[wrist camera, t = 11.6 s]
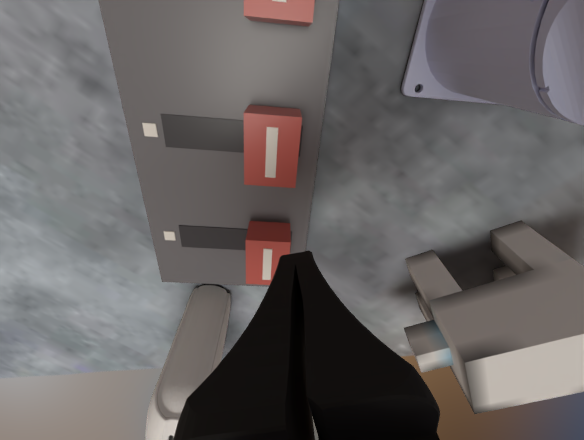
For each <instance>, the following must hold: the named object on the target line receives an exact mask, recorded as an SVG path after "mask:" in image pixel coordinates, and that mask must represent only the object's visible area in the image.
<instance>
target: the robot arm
mask: <svg viewBox="0 0 584 440" xmlns="http://www.w3.org/2000/svg"><path fill="white" fill-rule="evenodd" d="M418 84H420V90H419V91H418V92H415V87H416V85H418ZM401 91H402V93H403V94H404V95H406V96H410V97H422V98H433V99H444V100H455V101H467V102H478V103H489V104H500V105H506V106H510V107H514V108H518V109H522V110H526V111H530V112H534V113H538V114H542V115H545V116H549V117H553V118H557V119H561V120H565V121H569V122H572V123H576V124H580V125H583V126H584V0H424V3H423V7H422V11H421V15H420V18H419V22H418V26H417V30H416V34H415V37H414V41H413V45H412V49H411V53H410V56H409V60H408V64H407V68H406V72H405V75H404V79H403V83H402V87H401ZM312 416H313V419H314V423H315V426H316V430H317V433H318V438H319V440H440V439H439V437H438V435H437V427H438V422H439V416H440V411H439V407H438V405H437V403H436V400H435V399H434V397H433V395H432V393H431V392H430V390H429V388H428V387H427V385H426V384H425V382H424V381H423V379H422V378H421V376H420V375H419V374H418V372H417V371H416V369H415V368H414V367H413V366H412V365H411V364H409V363H408V362H407V361H405V360H404V359H403V358H401V357H400V356H399V355H397V354H396V353H395V352H394V351H392V350H391V349H390V348H388V347H387V346H386V345H385V344H384V343H382V342H381V341H380V340H379V339H378V338H377V337H375V336H374V335H373V334H372V333H371V332H370V331H369V330H368V329H367V328H366V327H365V326H364V325H363V324H361V323H360V322H359V321H358V320H357V319H356V318H355V316H354V315H353V314H352V313H351V312H350V311H349V310H348V309H347V308H346V307H345V306H344V304H343V303H342V302H341V301H340V299H339V298H338V297H337V296H336V294H335V293H334V292H333V290H332V289H331V288H330V286H329V285H328V283H327V282H326V280H325V279H324V277H323V276H322V274H321V272H320V271H319V269H318V267H317V265H316V263H315V261H314V258H313V255H312V252H310V251H305V252H299V253H293V254H287V255H282V256H281V257H280V258H279V262H278V265H277V268H276V271H275V274H274V276H273V279H272V281H271V284H270V286H269V288H268V290H267V293H266V295H265V297H264V299H263V301H262V302H261V304H260V306H259V308H258V310H257V312H256V314H255V315H254V317H253V319H252V320H251V322H250V323H249V325H248V327H247V328H246V330H245V331H244V332H243V334H242V335H241V337H240V338H239V340H238V341H237V342H236V344H235V345H234V346H233V348H232V349H231V350H230V352H229V353H228V354H227V355H226V356H225V358H224V359H223V360H222V361H221V362H220V364H219V365H218V366H217V367H216V368H215V370H214V371H213V372H212V373H211V374H210V375H209V376H208V377H207V378H206V379H205V380H204V381H203V382H202V383H201V384H200V386H199V387H198V388H197V389H196V390H195V391H194V392H193V393H192V394H191V395H190V396H189V397H188V398H187V399H186V402H185V405H184V407H183V410H182V412H181V415H180V418H179V421H178V424H177V427H176V431H175V435H174V438H173V440H315V437H314V428H313V420H312Z"/></svg>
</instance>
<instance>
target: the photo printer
mask: <svg viewBox="0 0 584 440" xmlns="http://www.w3.org/2000/svg"><path fill="white" fill-rule="evenodd" d="M230 306H231V297H230V293H227V291H226V290H225V289H223V288H221V287H219V286H215V285H202V286H200V287H199V288H195V289H194V290H193V292H192V294H191V296H190V298H189V301H188V303H187V306H186V309H185V311H184V314H183V317H182V319H181V322H180V325H179V327H178V330H177V332H176V335H175V338H174V340H173V343H172V346H171V348H170V351H169V354H168V356H167V359H166V362H165V364H164V367H163V369H162V372H161V374H160V377H159V379H158V382H157V385H156V387H155V390H154V392H153V395H152V398H151V401H150V405H149V409H148V415H147V422H146V436H145V438H146V440H173V438H174V435H175V431H176V427H177V424H178V421H179V418H180V415H181V412H182V410H183V407H184V405H185V402H186V399H187V398H188V397H189V396H190V395H191V394H192V393H193V392H194V391H195V390H196V389H197V388H198V387H199V386H200V384H201V383H202V382H203V381H204V380H205V379H206V378H207V377H208V376H209V375H210V374H211V373H212V372H213V371H214V370H215V368H216V367H217V366H218V365H219V364H220V362H221V358H222V353H223V348H224V343H225V337H226V332H227V326H228V320H229V314H230Z"/></svg>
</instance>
